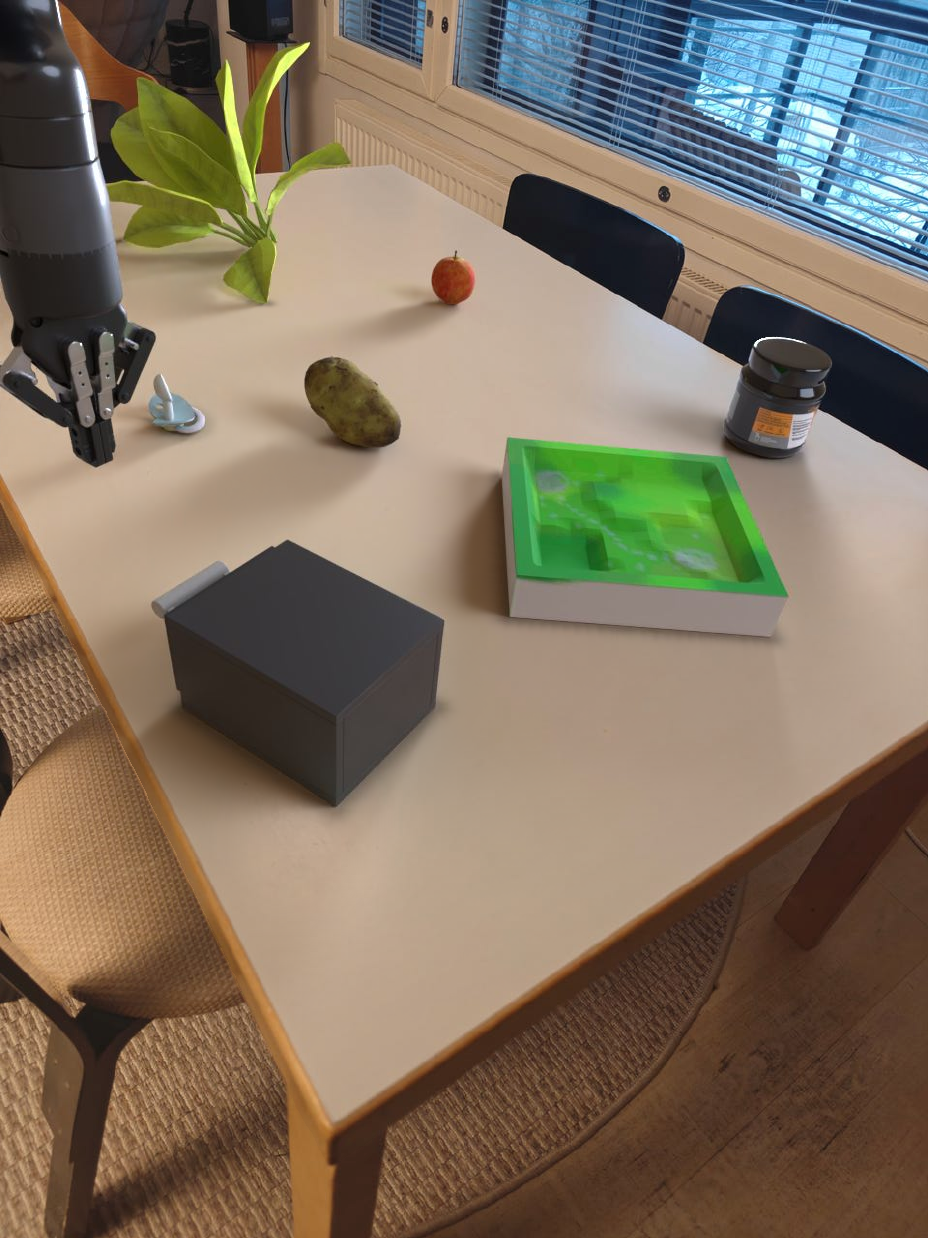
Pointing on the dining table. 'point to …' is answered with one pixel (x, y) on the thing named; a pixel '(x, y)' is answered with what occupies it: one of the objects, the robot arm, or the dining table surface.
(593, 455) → the tray
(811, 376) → the supplement container
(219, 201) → the artificial plant
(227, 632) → the cabinet
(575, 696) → the dining table surface
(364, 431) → the potato
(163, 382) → the pacifier
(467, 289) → the fruit
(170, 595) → the drawer
